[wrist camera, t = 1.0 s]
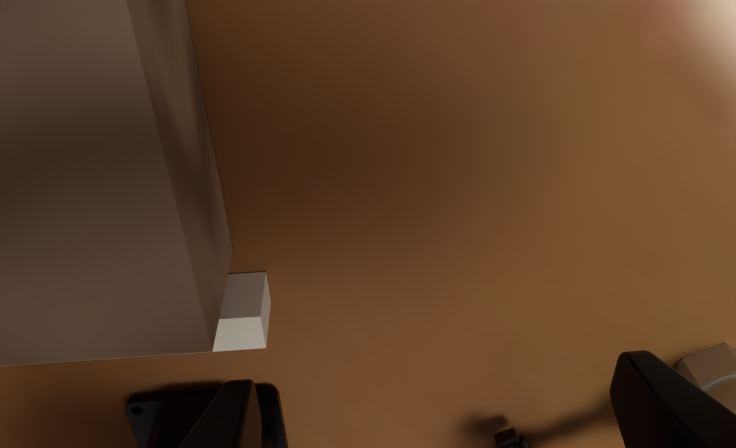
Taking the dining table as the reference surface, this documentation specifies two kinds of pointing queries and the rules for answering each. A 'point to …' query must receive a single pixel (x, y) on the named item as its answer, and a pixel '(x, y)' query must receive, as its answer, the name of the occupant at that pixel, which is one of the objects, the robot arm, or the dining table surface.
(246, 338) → the bay
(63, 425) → the dining table surface
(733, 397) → the valve
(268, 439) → the robot arm
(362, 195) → the dining table surface
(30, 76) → the carriage
